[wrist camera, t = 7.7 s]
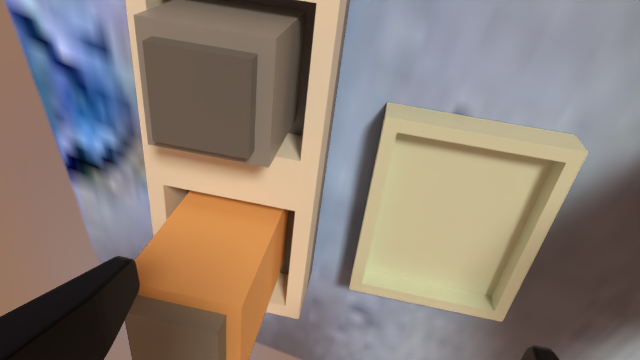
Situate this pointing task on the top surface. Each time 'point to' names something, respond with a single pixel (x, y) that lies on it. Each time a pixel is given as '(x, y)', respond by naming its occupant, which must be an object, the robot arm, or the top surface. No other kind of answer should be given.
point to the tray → (459, 208)
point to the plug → (207, 280)
